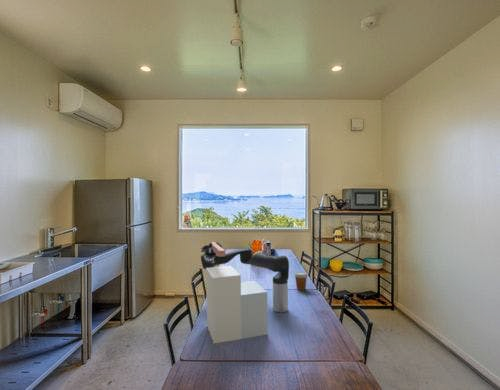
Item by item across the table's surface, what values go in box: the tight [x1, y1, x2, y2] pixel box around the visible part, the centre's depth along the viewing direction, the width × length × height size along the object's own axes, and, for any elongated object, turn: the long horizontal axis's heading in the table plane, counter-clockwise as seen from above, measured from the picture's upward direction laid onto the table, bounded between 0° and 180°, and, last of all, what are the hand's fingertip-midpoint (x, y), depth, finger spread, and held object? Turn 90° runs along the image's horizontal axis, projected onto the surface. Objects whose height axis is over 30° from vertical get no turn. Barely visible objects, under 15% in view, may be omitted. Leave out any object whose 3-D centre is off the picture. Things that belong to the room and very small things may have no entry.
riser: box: [205, 265, 269, 345], centre depth 155 cm, size 20×28×32 cm
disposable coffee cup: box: [294, 271, 308, 291], centre depth 219 cm, size 10×10×12 cm
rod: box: [209, 241, 226, 257], centre depth 166 cm, size 28×3×3 cm, turn 18°
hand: (214, 244), depth 173 cm, fingers closed on rod, 3 cm apart
